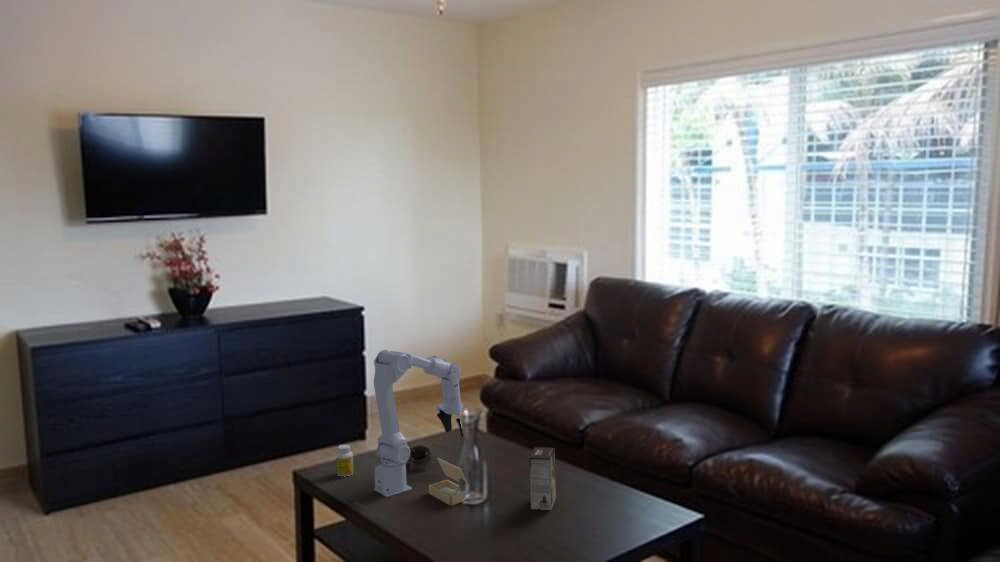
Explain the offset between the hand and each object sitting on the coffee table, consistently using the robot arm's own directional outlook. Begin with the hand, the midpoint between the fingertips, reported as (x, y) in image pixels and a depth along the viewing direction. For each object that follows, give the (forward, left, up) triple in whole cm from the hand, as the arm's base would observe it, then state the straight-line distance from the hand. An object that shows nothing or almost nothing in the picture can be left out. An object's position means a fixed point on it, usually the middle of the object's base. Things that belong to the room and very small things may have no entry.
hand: (456, 433), depth 268 cm
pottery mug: (-11, +8, -11) cm, 18 cm away
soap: (-19, -22, -10) cm, 30 cm away
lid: (-17, -22, -3) cm, 27 cm away
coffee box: (0, -44, -11) cm, 45 cm away
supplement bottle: (-34, +17, -11) cm, 39 cm away
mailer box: (-18, -22, -11) cm, 30 cm away
